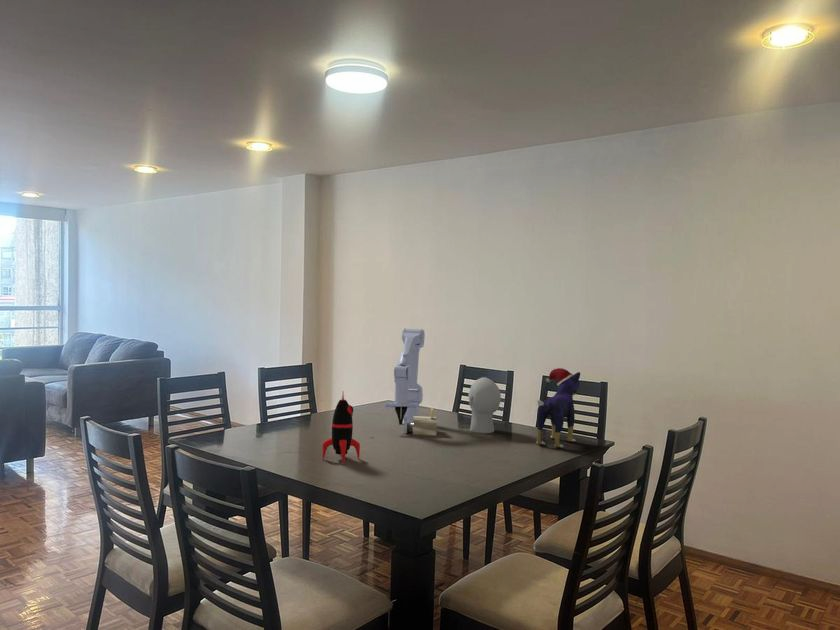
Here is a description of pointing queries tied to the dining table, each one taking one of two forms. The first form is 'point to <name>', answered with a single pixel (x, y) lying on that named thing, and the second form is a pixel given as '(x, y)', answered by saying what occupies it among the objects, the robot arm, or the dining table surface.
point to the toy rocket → (342, 430)
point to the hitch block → (424, 425)
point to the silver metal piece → (408, 426)
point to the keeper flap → (431, 413)
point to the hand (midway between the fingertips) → (400, 424)
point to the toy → (559, 406)
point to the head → (483, 404)
